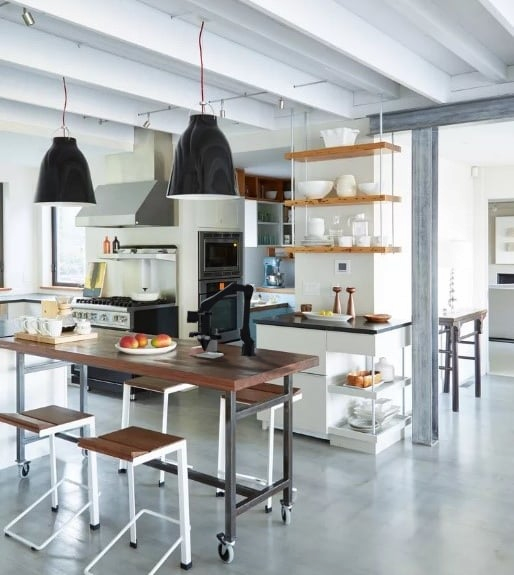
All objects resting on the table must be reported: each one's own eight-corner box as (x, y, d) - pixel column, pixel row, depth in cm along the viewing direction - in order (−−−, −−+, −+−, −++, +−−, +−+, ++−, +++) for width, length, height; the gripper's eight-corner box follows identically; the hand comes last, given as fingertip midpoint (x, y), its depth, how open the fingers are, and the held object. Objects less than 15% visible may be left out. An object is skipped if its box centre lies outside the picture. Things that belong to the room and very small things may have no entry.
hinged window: (223, 355, 354) (223, 353, 354) (212, 358, 346) (212, 355, 346) (207, 353, 360) (207, 351, 360) (196, 356, 351) (196, 353, 351)
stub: (206, 353, 360) (206, 346, 360) (196, 356, 352) (196, 348, 351) (200, 352, 362) (200, 345, 362) (189, 355, 354) (189, 347, 354)
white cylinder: (209, 352, 365) (209, 331, 364) (197, 350, 371) (197, 329, 370) (220, 350, 373) (220, 329, 372) (208, 348, 378) (208, 327, 377)
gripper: (227, 323, 355) (226, 350, 356) (200, 320, 365) (199, 347, 366) (216, 325, 346) (215, 353, 347) (188, 322, 356) (188, 350, 356)
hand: (204, 351), depth 354 cm, fingers closed
